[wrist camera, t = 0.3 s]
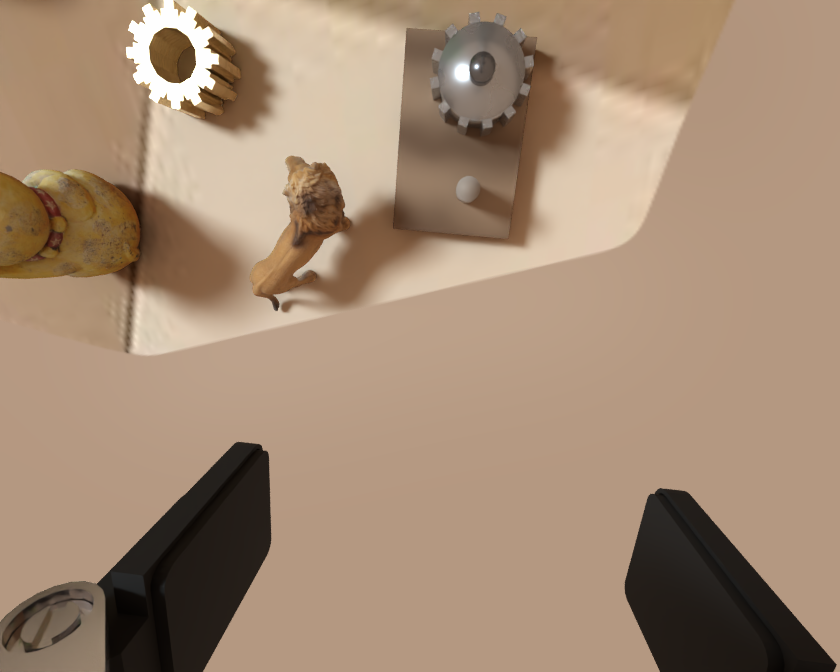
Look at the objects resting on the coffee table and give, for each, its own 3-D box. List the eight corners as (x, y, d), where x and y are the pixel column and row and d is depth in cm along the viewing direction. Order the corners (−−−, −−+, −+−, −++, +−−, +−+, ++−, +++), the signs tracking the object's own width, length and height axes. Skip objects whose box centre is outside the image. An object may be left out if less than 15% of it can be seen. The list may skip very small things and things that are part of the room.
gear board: (409, 38, 34) (400, 2, 28) (532, 47, 33) (549, 11, 28) (396, 227, 38) (386, 229, 32) (505, 237, 37) (514, 241, 32)
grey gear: (424, 42, 32) (420, 17, 28) (521, 20, 31) (531, -10, 27) (439, 144, 34) (438, 134, 30) (531, 126, 33) (541, 113, 29)
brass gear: (153, 17, 35) (121, -4, 31) (239, 24, 34) (215, 3, 31) (161, 115, 37) (131, 104, 33) (242, 121, 36) (220, 112, 33)
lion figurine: (319, 156, 37) (279, 137, 28) (371, 188, 37) (347, 178, 29) (255, 296, 41) (203, 317, 32) (303, 323, 41) (263, 351, 33)
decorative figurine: (88, 160, 38) (-129, 125, 24) (171, 201, 39) (6, 191, 24) (67, 254, 41) (-140, 273, 27) (144, 291, 42) (-19, 331, 27)
